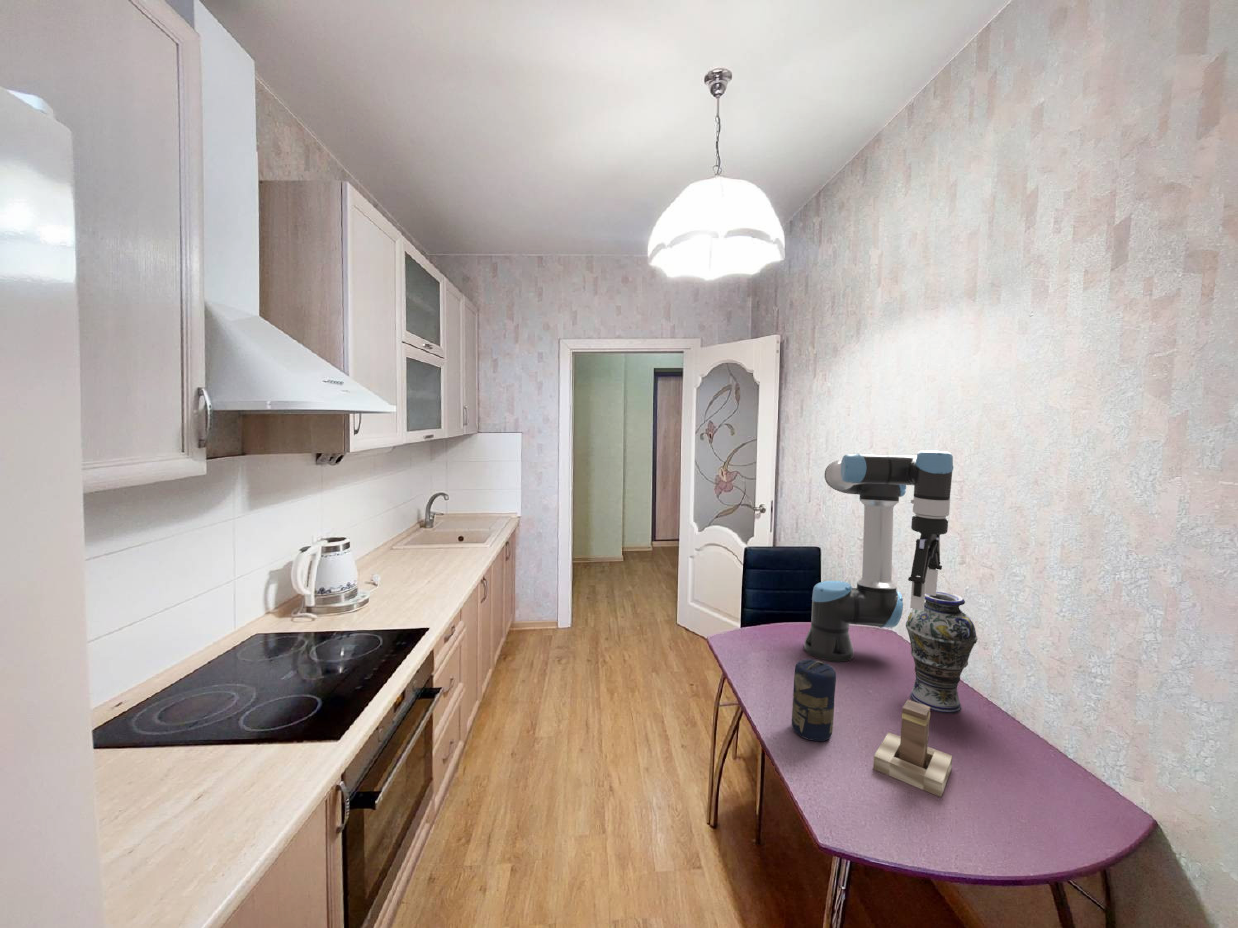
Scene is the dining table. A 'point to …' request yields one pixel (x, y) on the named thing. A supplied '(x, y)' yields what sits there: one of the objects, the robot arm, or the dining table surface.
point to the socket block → (913, 766)
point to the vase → (940, 650)
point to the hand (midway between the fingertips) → (923, 601)
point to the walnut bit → (914, 733)
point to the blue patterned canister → (813, 699)
